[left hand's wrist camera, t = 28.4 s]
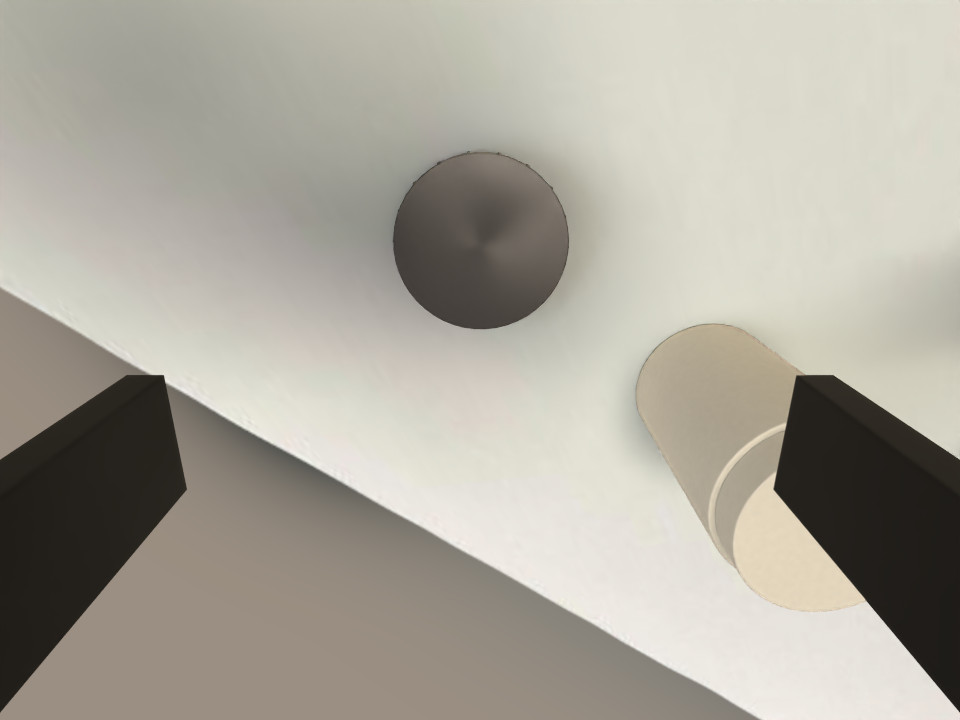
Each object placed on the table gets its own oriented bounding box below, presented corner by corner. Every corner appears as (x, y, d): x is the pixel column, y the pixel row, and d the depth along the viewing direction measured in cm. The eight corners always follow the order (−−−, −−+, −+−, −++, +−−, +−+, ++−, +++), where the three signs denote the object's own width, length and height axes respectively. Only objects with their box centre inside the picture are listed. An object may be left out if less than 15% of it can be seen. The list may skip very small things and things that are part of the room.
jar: (792, 410, 42) (969, 564, 27) (669, 469, 43) (770, 646, 28) (742, 298, 39) (909, 399, 24) (613, 366, 41) (692, 501, 25)
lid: (372, 184, 36) (365, 187, 34) (538, 127, 35) (542, 126, 33) (430, 338, 40) (427, 350, 38) (582, 290, 39) (589, 299, 36)
